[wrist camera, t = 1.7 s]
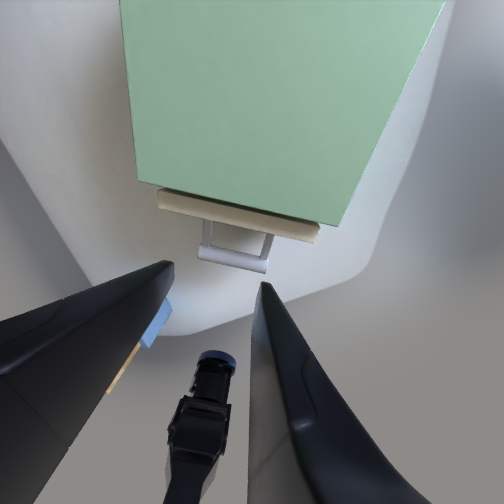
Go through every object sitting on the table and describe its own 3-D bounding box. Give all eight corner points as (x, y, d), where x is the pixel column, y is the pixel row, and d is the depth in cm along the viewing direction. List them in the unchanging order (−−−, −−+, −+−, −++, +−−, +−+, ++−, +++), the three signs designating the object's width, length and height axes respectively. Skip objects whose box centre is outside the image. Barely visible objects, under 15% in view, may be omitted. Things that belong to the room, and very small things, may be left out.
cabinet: (310, 196, 17) (338, 227, 10) (191, 168, 17) (137, 181, 10) (393, -33, 11) (628, -380, 4) (200, -86, 10) (58, -575, 3)
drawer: (285, 255, 20) (291, 295, 14) (191, 234, 20) (161, 267, 14) (366, 24, 11) (457, -93, 6) (202, -19, 11) (136, -185, 6)
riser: (172, 310, 27) (149, 348, 22) (138, 311, 28) (108, 349, 23) (157, 280, 24) (126, 315, 19) (120, 283, 25) (81, 317, 20)
